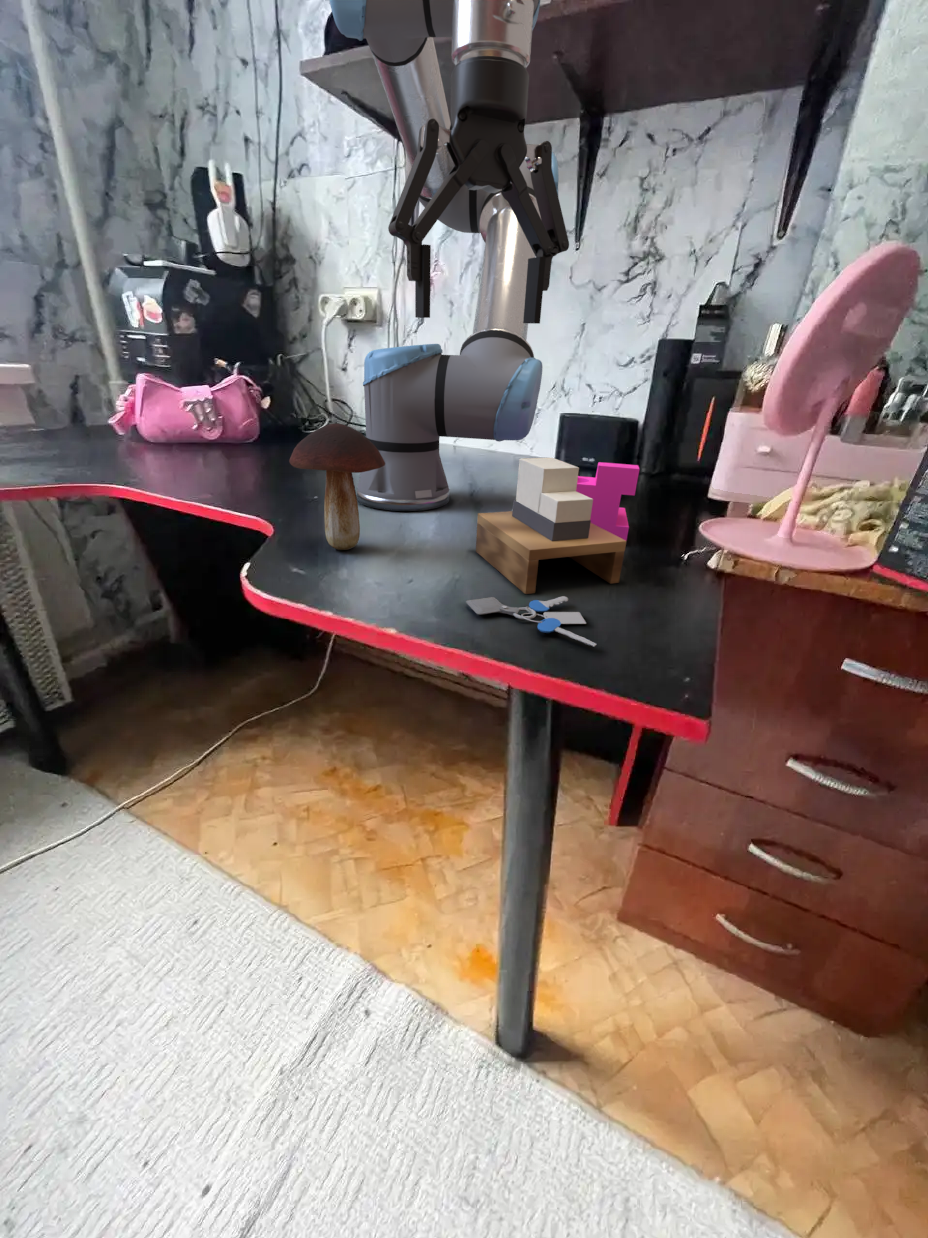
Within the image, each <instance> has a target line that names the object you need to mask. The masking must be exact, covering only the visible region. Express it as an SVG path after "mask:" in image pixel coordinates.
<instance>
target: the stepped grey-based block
mask: <svg viewBox="0 0 928 1238" xmlns="http://www.w3.org/2000/svg"><path fill="white" fill-rule="evenodd" d="M518 460H519V461H518V469H517V470H518V471H517V484H516V485H517V486H516V495H515V499H513V500H512V510H511V511H512V516H513V517H514V518H516V519H518V520H519V521H521V522H522V523H524V524H525V525H527V526H529V527H530V528H532V529H533V530H535V531H537V532H538V533H540V534H541V535H543V536H545V537H546V538H548V539H549V540H551V541H561V540H572V539H583V538H588V537H589V530H590V523H591V521H590V517H591V510H592V503H593V499H592V498H590V497H587V496H585V495H583V494H581V493H578V492H576V487H577V480H578V476H579V472H580V471H579V470H580V467H578V466H576V465H573V464H571V463H568V462H566V461H562V460H560V459H557V458H554V457H529V458H528V457H526V458H525V457H524V458H519V459H518Z"/></svg>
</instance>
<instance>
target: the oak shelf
mask: <svg viewBox="0 0 928 1238" xmlns="http://www.w3.org/2000/svg"><path fill="white" fill-rule="evenodd" d="M476 521H477V523H476V539H475V540H476V541H475V552H476V553H477V554H478V555H479V556H480V557H482V558H483V559H484V560H485V561H486V562H487V563H488V564H489V565H491V566H492V567H493V568H494V569H495V570H496V571H498V572H499V573H500V574H501V575H502V576H504V577H505V578H506V579H507V580H508V581H509V582H510V583H512V584H513V585H514V586H515V587H516V588H518V589H519V590H520V591H521V592H522V593H523V594H525V595H530V594H531V595H532V594H535V593H536V589H537V587H536V586H537V579H538V569H539V568H538V567H539V560H541V561H542V560H549V559H560V558H570V559H571V560H573V561H574V562H576V563H577V564H579V565H580V566H582V567H584V568H585V569H587V570H588V571H590V572H592V573H593V574H595V575H596V576H598V577H599V578H600V579H602V580H603V581H606V582H607V583H608V584H612V585H613V584H619V583H620V579H621V573H622V568H623V564H624V563H623V562H624V556H625V551H626V545H627V540H624V539H622V538H620V537H618V536H616V535H614V534H612V533H610V532H608V531H606V530H604V529H602V528H600V527H598V526H596V525H594V524H592V523H590V530H589V537H588V538H583V539H572V540H561V541H551V540H549V539H548V538H546V537H545V536H543V535H541V534H540V533H538V532H537V531H535V530H533V529H532V528H530V527H529V526H527V525H525V524H524V523H522V522H521V521H519V520H518V519H516V518H514V517H513V516H512V510H510V511H507V510H506V511H495V512H494V511H493V512H492V511H491V512H477V520H476Z"/></svg>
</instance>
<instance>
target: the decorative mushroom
mask: <svg viewBox="0 0 928 1238" xmlns="http://www.w3.org/2000/svg"><path fill="white" fill-rule="evenodd" d="M288 462H289V464H290V465H291V466H292V467H293V468H296V469H300V470H316V471H325V490H324V505H323V506H324V507H323V508H324V514H323V515H324V516H323V517H324V532H325V538H326V541H327V543H328V545H329V546H330V547H332V548H333V549H335V550H339V551H349V550H350V549H352V548H354V547H356V546H357V545H358V543H359V540H360V535H361V525H360V513H359V504H358V503H359V502H358V500H357V490H356V487H355V483H354V477H353V474H361V472H366V471H370V470H374V469H378V468H381V467H383V466H385V462H384V459H383V458H382V456H381V454H380V452H379V451H378V449H377V448H376V447H375V445H374V444H373V443H372V442H371V441H370V440H369V439H367V438H366V435H364V434H363V433H362V432H360V431H359V430H356V429H354V428H353V427H351V426H348V425H346V424H343V423H337V422H336V423H335V422H334V423H329V424H326V425H324V426H322V427H320V428H317V429H315V430H314V431H312V432H311V433H310V434H308V435H307V436H305V437H304V438H303V439H301V441H299V442H298V443H297V444H296V446H295V447H294V448H293V451H292V453H291V455H290V458H289V459H288Z"/></svg>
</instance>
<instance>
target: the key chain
mask: <svg viewBox="0 0 928 1238" xmlns="http://www.w3.org/2000/svg"><path fill="white" fill-rule="evenodd" d="M568 601H569V598H568V597H567V596H565V595H562V596H558V597H555V598H552V599H547V600H545V601H544V600H539V599H533V600H531V601H530V602H529V603H528V606H525V607H524V606H523V607H522V606H521V607H516V606H509V605H506V604H503V603H501V601H500V600H498V599H497V598H496V597H494V596H489V597H482V598H475V599H467V600H466V601H465V604H467V606H469V608H470V609H471V610H472V611H473V612H474V613H475V614H476V615H480V616H481V615H488V614H495V613H499V614H507V615H510V616H512V617H515V618H516V619H519V620H522V621H523V620H524V621H529V622H532V623H536V624H537V630H538V631H539V632H540V633H544V634H545V633H546V634H550V633H554V632H556V633H559V634H561V635H563V636H566V637H568V638H570V639H572V640H575V641H578V642H580V643H583V644H585V645H588V646H590V647H594V648H595V647H596V646H597V642H594V641H592V640H590V639H587V638H586V637H583V636H580V635H578V634H576V633H574V632H572V631H570V630H567V629H564V628H562V627H561V626H562V625H587V622H586V620H585V619H584V617H583V616H582V614H581V612H580V611H550V608H552V607H554V606H560V605H561V604H563V603H564V602H565V603H567V602H568ZM520 612H524V613H521V615H520V614H519V613H520ZM540 613H543V614H540ZM525 615H527V616H525ZM536 616H538V617H542V618H544V619H542V620H534V618H536Z"/></svg>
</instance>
